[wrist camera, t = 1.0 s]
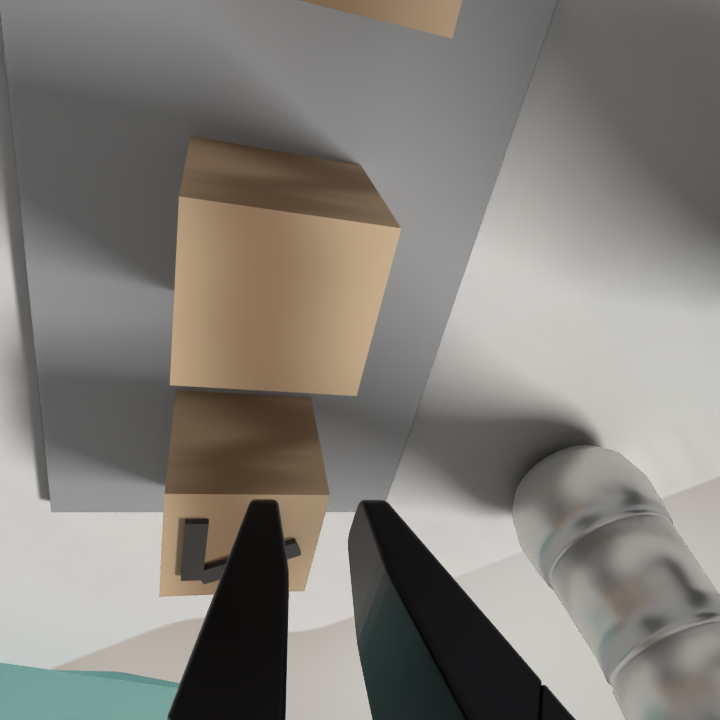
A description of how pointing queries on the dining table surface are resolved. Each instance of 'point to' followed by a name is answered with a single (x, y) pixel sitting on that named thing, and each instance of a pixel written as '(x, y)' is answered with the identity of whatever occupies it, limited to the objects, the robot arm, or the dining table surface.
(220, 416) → the oak block marked 7
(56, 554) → the dining table surface
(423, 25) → the oak block marked 1
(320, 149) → the grey rubber mat
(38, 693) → the tissue box
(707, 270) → the dining table surface
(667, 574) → the plastic bottle
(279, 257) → the plain oak block
